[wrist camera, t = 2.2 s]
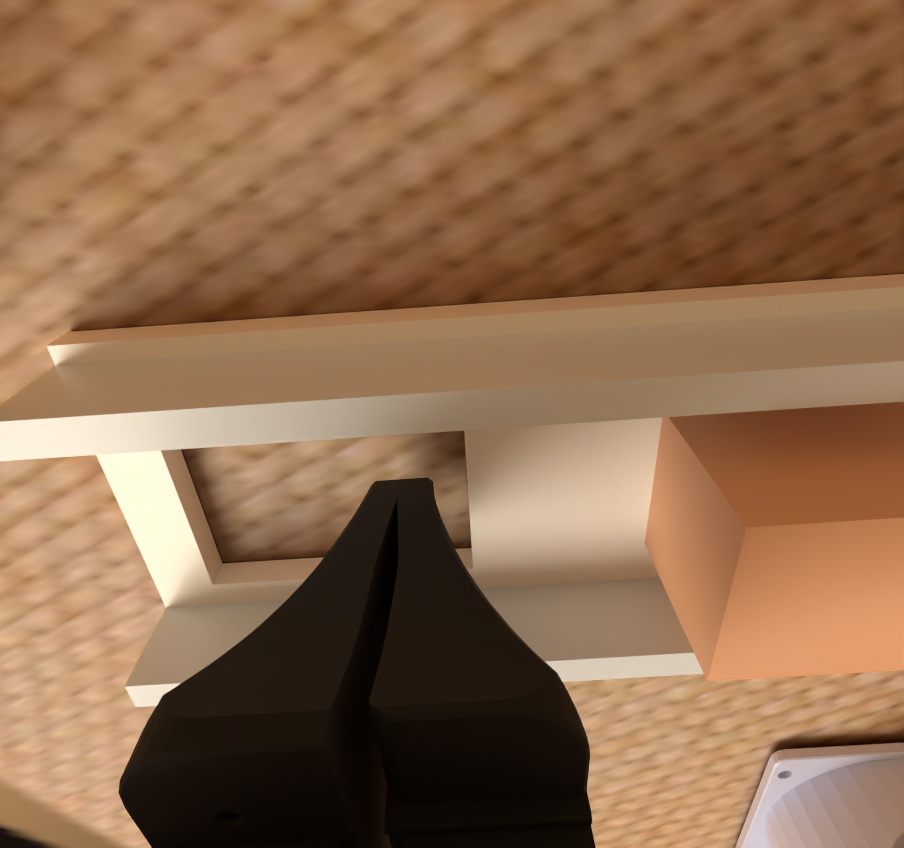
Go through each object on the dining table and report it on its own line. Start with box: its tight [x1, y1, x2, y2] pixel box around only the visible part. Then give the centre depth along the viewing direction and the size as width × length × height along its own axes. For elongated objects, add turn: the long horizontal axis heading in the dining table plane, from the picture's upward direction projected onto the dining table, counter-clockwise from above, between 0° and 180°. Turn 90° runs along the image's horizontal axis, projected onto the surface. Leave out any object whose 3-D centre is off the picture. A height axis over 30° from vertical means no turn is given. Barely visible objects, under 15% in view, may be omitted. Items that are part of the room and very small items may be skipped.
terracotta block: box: [645, 402, 904, 681], centre depth 12 cm, size 4×6×4 cm, turn 94°
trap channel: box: [0, 274, 904, 707], centre depth 13 cm, size 9×25×3 cm, turn 94°
